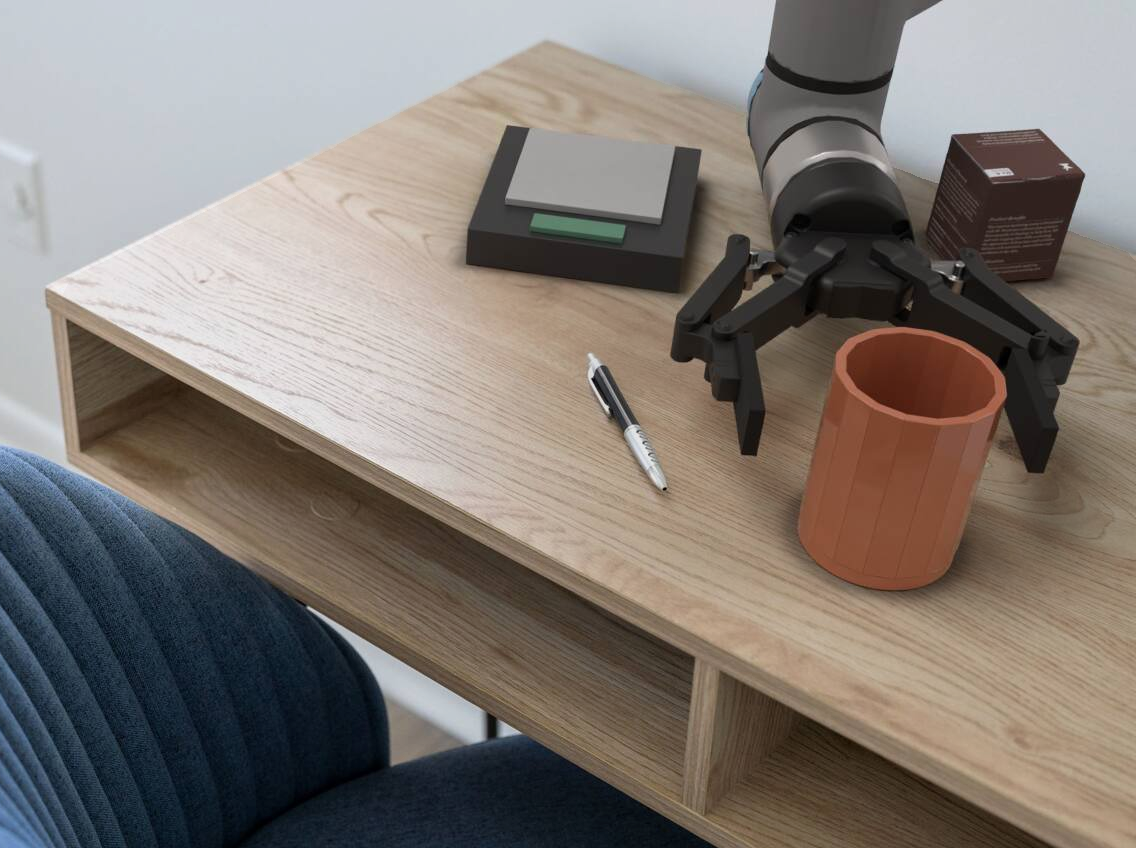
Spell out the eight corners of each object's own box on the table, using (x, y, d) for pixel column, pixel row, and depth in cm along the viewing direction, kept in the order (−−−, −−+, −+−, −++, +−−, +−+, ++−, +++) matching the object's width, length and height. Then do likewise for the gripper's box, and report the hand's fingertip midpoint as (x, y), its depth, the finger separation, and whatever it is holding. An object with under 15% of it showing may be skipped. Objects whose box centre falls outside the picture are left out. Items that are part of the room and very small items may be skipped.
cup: (950, 502, 82) (1001, 339, 76) (956, 602, 77) (1012, 435, 70) (799, 479, 84) (836, 317, 77) (794, 576, 78) (834, 409, 71)
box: (1010, 230, 104) (1041, 126, 99) (1054, 281, 99) (1089, 174, 95) (921, 237, 103) (949, 132, 98) (962, 288, 98) (992, 180, 94)
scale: (696, 182, 108) (703, 141, 106) (678, 293, 97) (684, 250, 95) (504, 158, 110) (507, 117, 108) (465, 264, 99) (467, 221, 97)
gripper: (1037, 283, 95) (1140, 518, 78) (611, 259, 96) (624, 487, 79) (1074, 169, 90) (1191, 393, 74) (625, 144, 91) (642, 361, 74)
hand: (898, 442), depth 76 cm, fingers open, 13 cm apart
